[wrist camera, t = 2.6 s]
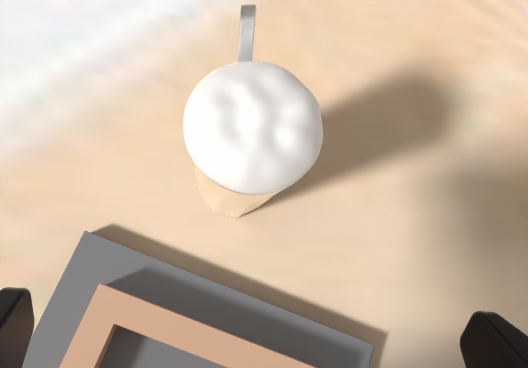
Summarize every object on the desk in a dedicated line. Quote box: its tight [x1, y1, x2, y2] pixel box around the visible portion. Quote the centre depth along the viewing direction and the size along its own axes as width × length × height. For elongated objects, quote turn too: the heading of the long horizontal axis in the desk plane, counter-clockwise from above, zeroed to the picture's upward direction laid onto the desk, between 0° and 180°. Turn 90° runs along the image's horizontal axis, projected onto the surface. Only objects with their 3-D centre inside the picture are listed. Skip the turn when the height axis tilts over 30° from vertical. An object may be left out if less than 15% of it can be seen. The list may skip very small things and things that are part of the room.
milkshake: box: [183, 5, 323, 218], centre depth 18 cm, size 4×5×10 cm
